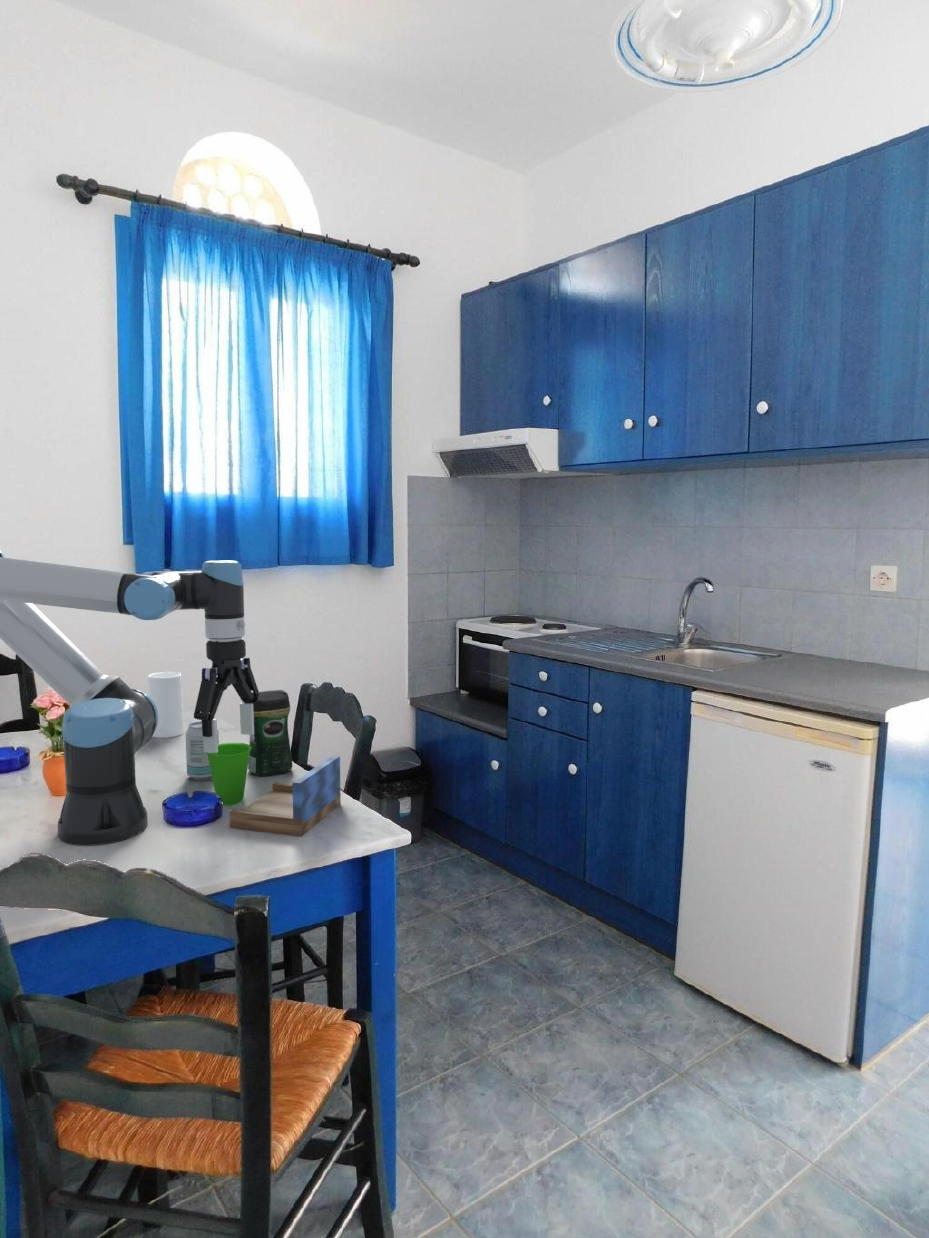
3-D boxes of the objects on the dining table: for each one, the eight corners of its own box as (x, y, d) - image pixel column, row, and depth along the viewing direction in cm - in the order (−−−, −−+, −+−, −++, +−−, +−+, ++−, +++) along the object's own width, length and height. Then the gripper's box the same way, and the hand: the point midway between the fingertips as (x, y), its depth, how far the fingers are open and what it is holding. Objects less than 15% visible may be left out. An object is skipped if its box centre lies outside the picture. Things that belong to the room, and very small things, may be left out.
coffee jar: (285, 763, 190) (283, 685, 187) (296, 772, 183) (294, 692, 180) (244, 769, 185) (241, 690, 182) (253, 779, 178) (251, 696, 176)
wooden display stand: (301, 836, 146) (300, 783, 145) (230, 827, 150) (228, 775, 149) (340, 804, 163) (339, 756, 162) (275, 797, 167) (274, 750, 165)
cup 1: (178, 728, 221) (176, 670, 219) (187, 734, 214) (185, 675, 212) (147, 732, 216) (144, 673, 214) (154, 739, 209) (152, 678, 207)
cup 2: (245, 809, 160) (244, 755, 158) (200, 808, 160) (198, 754, 158) (258, 794, 168) (257, 742, 167) (215, 793, 169) (213, 742, 167)
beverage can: (218, 770, 184) (217, 719, 182) (220, 780, 177) (219, 726, 176) (186, 773, 181) (184, 721, 180) (187, 783, 175) (185, 729, 173)
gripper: (206, 649, 147) (211, 762, 150) (273, 630, 171) (276, 728, 174) (170, 647, 149) (176, 759, 152) (242, 629, 173) (245, 726, 176)
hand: (230, 742), depth 163 cm, fingers open, 13 cm apart
